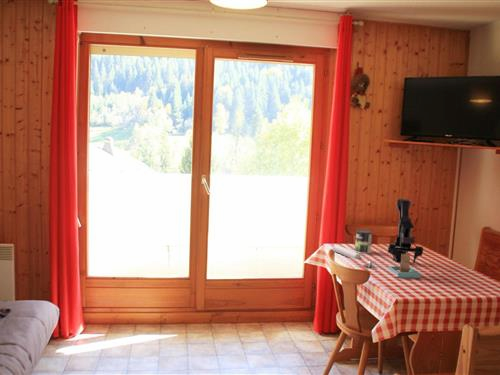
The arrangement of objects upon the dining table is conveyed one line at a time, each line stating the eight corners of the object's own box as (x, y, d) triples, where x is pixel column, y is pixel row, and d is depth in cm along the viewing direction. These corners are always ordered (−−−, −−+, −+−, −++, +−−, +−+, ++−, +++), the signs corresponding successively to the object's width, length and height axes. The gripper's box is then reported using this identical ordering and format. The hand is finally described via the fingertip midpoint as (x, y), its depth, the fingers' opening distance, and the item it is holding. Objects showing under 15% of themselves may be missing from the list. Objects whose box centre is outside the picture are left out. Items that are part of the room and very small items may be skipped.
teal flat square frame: (409, 271, 294) (410, 266, 294) (420, 278, 281) (420, 273, 281) (388, 271, 292) (388, 266, 292) (397, 278, 279) (398, 272, 279)
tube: (363, 254, 314) (340, 245, 336) (357, 252, 311) (334, 243, 334) (360, 263, 314) (337, 252, 336) (354, 260, 311) (331, 250, 334)
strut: (399, 272, 289) (401, 253, 288) (407, 273, 288) (409, 254, 287) (400, 274, 285) (401, 255, 284) (408, 275, 284) (410, 256, 283)
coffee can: (361, 254, 331) (362, 232, 329) (351, 250, 340) (353, 229, 339) (373, 253, 335) (375, 232, 334) (364, 249, 345) (365, 229, 343)
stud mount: (373, 267, 299) (374, 260, 298) (377, 271, 292) (378, 263, 291) (361, 267, 298) (362, 260, 297) (366, 271, 291) (366, 263, 290)
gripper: (389, 229, 290) (389, 253, 280) (424, 232, 286) (424, 256, 276) (388, 240, 298) (387, 263, 289) (421, 243, 294) (421, 267, 285)
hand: (405, 262), depth 285 cm, fingers open, 9 cm apart
